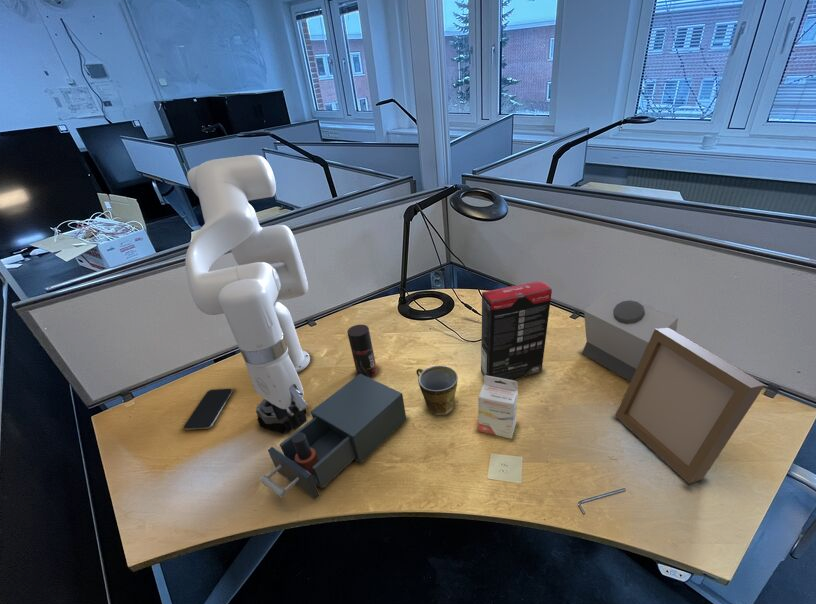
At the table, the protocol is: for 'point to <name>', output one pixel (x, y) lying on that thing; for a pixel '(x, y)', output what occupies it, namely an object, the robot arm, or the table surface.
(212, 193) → the robot arm
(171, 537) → the table surface
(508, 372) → the graphics card box
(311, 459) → the nail polish bottle
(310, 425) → the drawer
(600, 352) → the alarm clock
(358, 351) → the deodorant
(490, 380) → the ink cartridge box
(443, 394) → the ceramic cup
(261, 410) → the cpu cooler
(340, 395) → the cabinet
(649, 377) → the photo frame
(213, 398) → the smartphone
